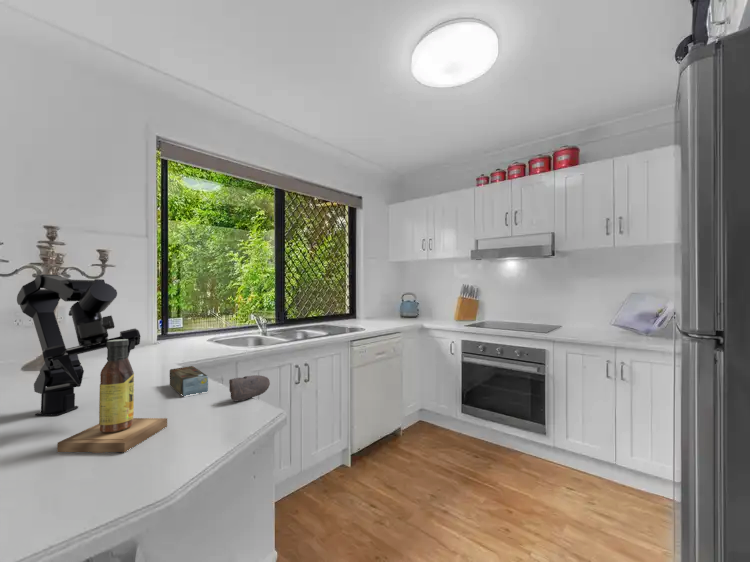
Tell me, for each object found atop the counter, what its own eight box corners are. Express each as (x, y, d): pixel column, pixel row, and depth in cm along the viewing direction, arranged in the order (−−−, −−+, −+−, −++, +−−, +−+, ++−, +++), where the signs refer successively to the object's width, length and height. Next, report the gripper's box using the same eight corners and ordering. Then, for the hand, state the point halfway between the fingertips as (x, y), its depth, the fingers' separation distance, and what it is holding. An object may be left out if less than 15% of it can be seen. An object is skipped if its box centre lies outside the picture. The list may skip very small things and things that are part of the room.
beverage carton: (181, 398, 108) (182, 377, 108) (168, 386, 122) (168, 367, 123) (208, 393, 113) (209, 373, 114) (193, 382, 128) (193, 364, 128)
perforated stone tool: (264, 390, 116) (264, 369, 116) (274, 393, 113) (274, 371, 113) (222, 402, 104) (222, 378, 104) (232, 405, 101) (232, 381, 101)
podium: (57, 452, 71) (57, 442, 71) (110, 426, 85) (111, 417, 85) (124, 452, 70) (124, 442, 70) (167, 426, 84) (167, 417, 84)
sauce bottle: (136, 428, 78) (138, 339, 79) (101, 436, 73) (104, 342, 74) (129, 421, 82) (131, 337, 83) (95, 428, 78) (98, 340, 78)
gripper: (33, 316, 77) (46, 380, 72) (132, 299, 90) (149, 353, 85) (40, 337, 85) (53, 396, 80) (131, 318, 97) (146, 369, 93)
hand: (103, 377), depth 84 cm, fingers open, 9 cm apart
